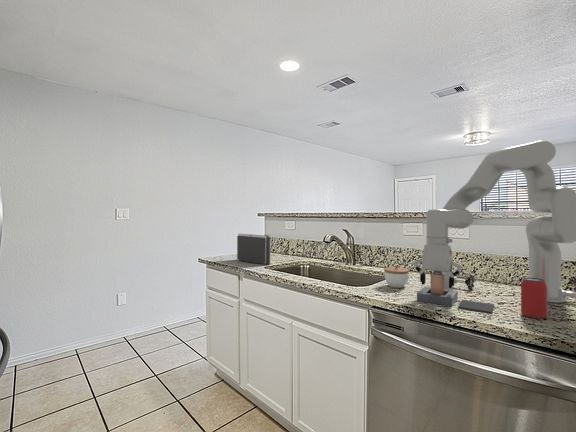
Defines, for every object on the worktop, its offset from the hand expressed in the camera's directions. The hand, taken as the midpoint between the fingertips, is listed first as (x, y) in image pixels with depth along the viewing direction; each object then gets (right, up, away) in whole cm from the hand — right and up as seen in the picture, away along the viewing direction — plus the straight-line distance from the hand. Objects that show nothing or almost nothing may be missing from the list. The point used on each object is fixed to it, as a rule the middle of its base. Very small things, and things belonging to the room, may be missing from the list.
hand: (436, 285), depth 119 cm
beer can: (+22, -6, -19) cm, 30 cm away
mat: (+9, -6, -9) cm, 14 cm away
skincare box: (+9, -5, +13) cm, 17 cm away
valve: (+18, -5, +19) cm, 27 cm away
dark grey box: (-76, -5, +98) cm, 124 cm away
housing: (0, -5, 0) cm, 6 cm away
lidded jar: (-8, -5, +22) cm, 24 cm away
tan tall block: (0, -6, 0) cm, 6 cm away
